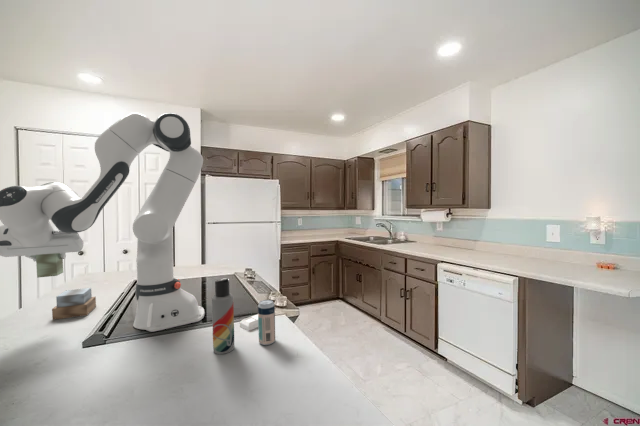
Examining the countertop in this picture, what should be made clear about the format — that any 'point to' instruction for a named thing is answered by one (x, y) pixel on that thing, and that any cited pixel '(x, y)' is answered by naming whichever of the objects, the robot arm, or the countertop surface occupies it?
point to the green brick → (49, 265)
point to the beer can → (266, 322)
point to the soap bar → (249, 323)
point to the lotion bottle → (223, 317)
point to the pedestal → (74, 303)
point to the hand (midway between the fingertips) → (50, 258)
